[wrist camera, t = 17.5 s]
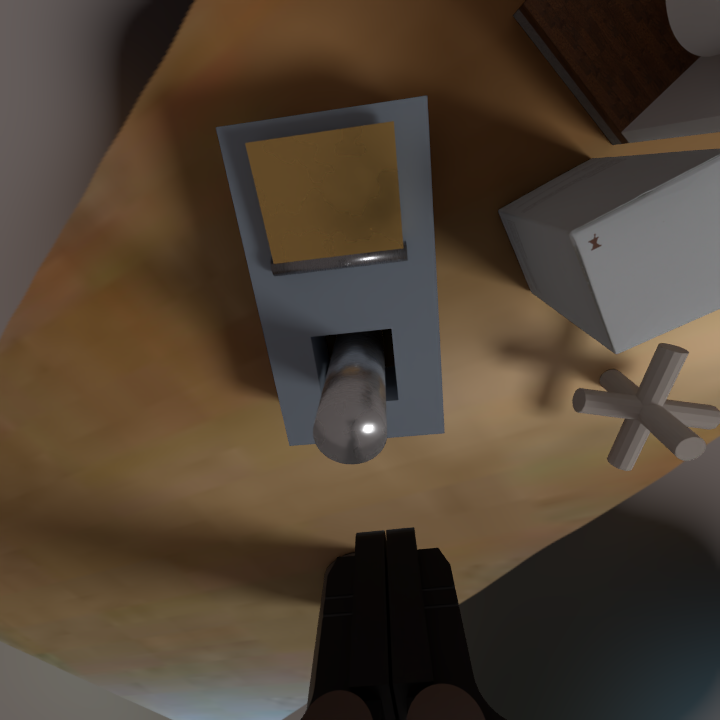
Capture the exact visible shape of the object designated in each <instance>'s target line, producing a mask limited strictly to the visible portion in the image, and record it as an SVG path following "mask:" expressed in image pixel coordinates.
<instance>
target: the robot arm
mask: <svg viewBox="0 0 720 720" xmlns="http://www.w3.org/2000/svg"><path fill="white" fill-rule="evenodd" d="M386 539H387V541H386ZM301 720H506V719H505V718H503V717H502V716H500V715H499V714H498V713H496V712H495V711H494V710H493V709H492V708H491V707H490V706H489V705H488V704H487V702H486V701H485V700H484V698H483V697H482V695H481V694H480V692H479V690H478V687H477V685H476V683H475V679H474V676H473V671H472V666H471V661H470V657H469V652H468V647H467V643H466V638H465V633H464V628H463V623H462V619H461V614H460V609H459V605H458V599H457V595H456V590H455V585H454V580H453V575H452V571H451V566H450V564H449V562H448V561H447V559H446V558H445V557H444V555H443V554H442V553H441V551H440V550H439V548H430V549H419V550H417V545H416V537H415V530H414V527H412V528H402V529H392V530H386V535H385V531H384V530H383V531H372V532H362V533H356V541H355V553H351V554H348V555H345V556H342V557H337V559H336V560H335V561H334V562H333V563H332V564H330V566H329V567H328V568H327V570H326V573H325V575H324V583H323V590H322V598H321V606H320V612H319V619H318V627H317V634H316V642H315V649H314V657H313V664H312V672H311V679H310V687H309V694H308V702H307V710H306V712H305V714H304V716H303V717H302V718H301Z"/></svg>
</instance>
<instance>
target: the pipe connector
mask: <svg viewBox="0 0 720 720" xmlns="http://www.w3.org/2000/svg"><path fill="white" fill-rule="evenodd" d="M688 354H689V352H688V351H687V350H685V349H683V348H681V347H678V346H675V345H671V344H666V343H660V344H658V347H657V349H656V351H655V353H654V356H653V358H652V360H651V362H650V364H649V367H648V369H647V371H646V373H645V375H644V378H643V380H642V382H641V384H640V386H639V387H638V386H637V385H635V384H634V383H633V382H632V381H631V380H629V379H628V378H627V377H626V376H624V375H623V374H622V373H621V372H619V371H618V370H615V369H611V370H608V371H606V372H604V373H603V374H602V375H601V377H600V384H601V386H602V387H603V388H605V389H606V390H607V391H608V392H605V391H598V390H590V389H582V388H579V389H577V390H576V391H575V393H574V396H573V400H572V401H573V408H574V410H575V411H576V412H579V413H586V414H594V415H602V416H610V417H617V418H625V420H624V422H623V424H622V426H621V428H620V431H619V433H618V435H617V437H616V440H615V442H614V444H613V446H612V448H611V451H610V453H609V455H608V457H607V460H608V462H609V463H610V464H611V465H613V466H614V467H616V468H618V469H621V470H625V471H628V470H631V469H632V468H633V466H634V464H635V462H636V460H637V458H638V456H639V454H640V452H641V450H642V448H643V446H644V444H645V441H646V439H647V437H648V435H649V433H650V432H651V433H652V434H653V435H654V436H655V437H656V438H657V439H658V440H660V441H661V442H662V443H663V444H664V445H665V446H666V447H667V448H668V449H669V450H670V451H671V452H672V453H673V454H674V455H675V456H676V457H677V458H679V459H681V460H684V461H689V460H693V459H696V458H697V457H699V456H700V455H701V454H702V453H703V452H704V451H705V448H706V444H705V441H704V440H703V439H702V438H700V437H699V436H698V435H697V434H695V433H694V432H693V431H692V430H691V429H689V428H688V427H694V428H702V429H714V428H716V427H717V426H718V425H719V423H720V411H719V410H718V409H717V408H716V407H715V406H712V405H705V404H698V403H690V402H682V401H674V400H667V397H668V394H669V392H670V390H671V388H672V386H673V384H674V382H675V380H676V378H677V376H678V374H679V372H680V370H681V368H682V366H683V364H684V362H685V360H686V358H687V356H688Z"/></svg>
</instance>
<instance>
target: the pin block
mask: <svg viewBox="0 0 720 720" xmlns="http://www.w3.org/2000/svg"><path fill="white" fill-rule="evenodd" d="M390 121H394V130H395V143H396V156H397V169H398V182H399V195H400V209H401V222H402V235H403V241H406V245H407V256H408V261H403V262H394V263H386V264H377V265H369V266H360V267H352V268H343V269H335V270H326V271H318V272H309V273H301V274H292V275H284V276H274V275H273V273H272V270H271V264H270V260H271V257H272V255H271V251H270V246H269V242H268V238H267V234H266V229H265V225H264V221H263V217H262V213H261V208H260V204H259V200H258V196H257V192H256V187H255V183H254V179H253V175H252V170H251V166H250V162H249V158H248V154H247V149H246V145H245V143H248V142H253V141H260V140H267V139H274V138H281V137H287V136H294V135H301V134H308V133H315V132H321V131H328V130H335V129H342V128H349V127H356V126H362V125H369V124H376V123H383V122H390ZM216 130H217V135H218V139H219V143H220V148H221V152H222V156H223V161H224V165H225V169H226V174H227V178H228V182H229V187H230V191H231V195H232V199H233V204H234V208H235V212H236V217H237V221H238V225H239V230H240V234H241V238H242V243H243V247H244V251H245V256H246V260H247V264H248V268H249V273H250V277H251V281H252V286H253V290H254V294H255V299H256V303H257V307H258V312H259V316H260V320H261V325H262V329H263V333H264V337H265V342H266V346H267V350H268V355H269V359H270V363H271V368H272V372H273V376H274V381H275V385H276V389H277V394H278V398H279V402H280V406H281V411H282V415H283V419H284V424H285V428H286V432H287V437H288V441H289V445H290V446H294V445H306V444H316V443H315V441H314V437H313V427H314V422H315V418H316V414H317V410H318V406H319V403H320V399H321V395H322V391H323V387H324V383H325V379H326V375H327V371H328V367H329V363H330V360H329V354H328V348H327V342H326V336H325V335H334V334H344V333H353V332H363V331H372V330H382V329H392V339H393V349H394V359H395V366H388V367H385V388H386V415H387V438H392V437H404V436H416V435H428V434H441V433H444V413H443V394H442V374H441V355H440V335H439V315H438V296H437V276H436V257H435V237H434V217H433V198H432V178H431V158H430V139H429V119H428V100H427V96H421V97H414V98H407V99H401V100H394V101H388V102H381V103H374V104H368V105H361V106H354V107H348V108H341V109H335V110H328V111H321V112H315V113H308V114H302V115H295V116H288V117H282V118H275V119H268V120H262V121H255V122H249V123H242V124H235V125H229V126H222V127H216Z"/></svg>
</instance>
